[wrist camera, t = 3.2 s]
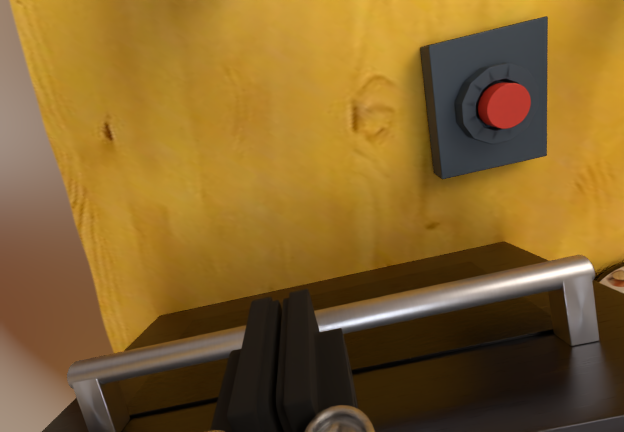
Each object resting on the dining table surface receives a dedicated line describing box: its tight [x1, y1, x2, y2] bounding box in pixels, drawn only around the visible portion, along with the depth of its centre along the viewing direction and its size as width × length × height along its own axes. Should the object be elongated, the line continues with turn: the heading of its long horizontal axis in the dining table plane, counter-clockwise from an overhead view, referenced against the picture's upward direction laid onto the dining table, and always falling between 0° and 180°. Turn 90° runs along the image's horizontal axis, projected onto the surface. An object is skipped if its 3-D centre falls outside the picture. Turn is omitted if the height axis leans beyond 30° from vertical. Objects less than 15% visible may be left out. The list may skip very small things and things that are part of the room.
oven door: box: [42, 242, 624, 432], centre depth 28 cm, size 6×40×26 cm, turn 103°
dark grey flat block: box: [420, 17, 548, 179], centre depth 33 cm, size 12×10×4 cm
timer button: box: [478, 83, 531, 129], centre depth 31 cm, size 4×4×2 cm
